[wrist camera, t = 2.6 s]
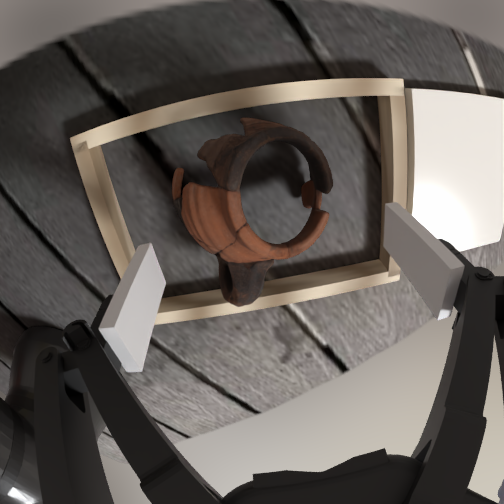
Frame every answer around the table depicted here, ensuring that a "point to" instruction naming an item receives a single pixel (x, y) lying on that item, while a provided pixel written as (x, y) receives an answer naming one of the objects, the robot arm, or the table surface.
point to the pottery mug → (231, 213)
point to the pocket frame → (383, 88)
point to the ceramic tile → (456, 165)
